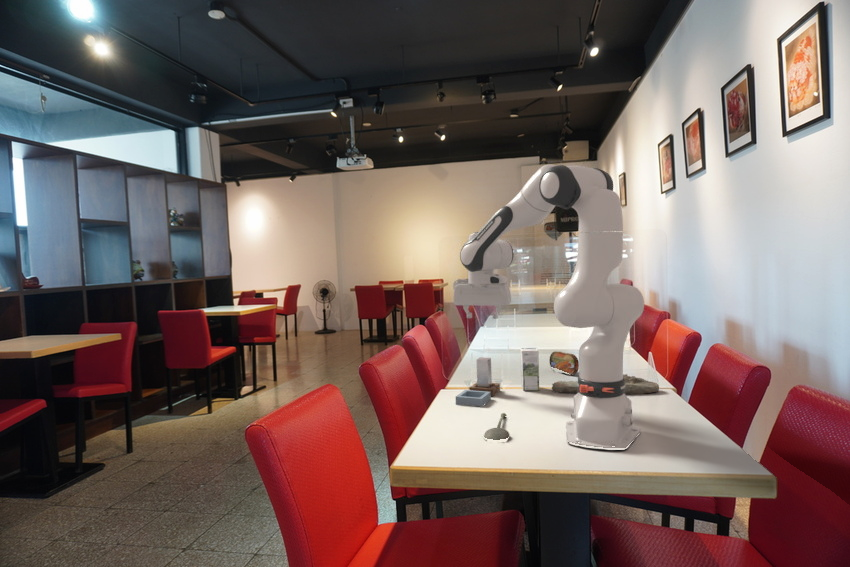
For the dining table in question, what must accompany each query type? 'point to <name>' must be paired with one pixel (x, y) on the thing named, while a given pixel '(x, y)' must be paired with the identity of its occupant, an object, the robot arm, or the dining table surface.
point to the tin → (564, 362)
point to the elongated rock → (631, 386)
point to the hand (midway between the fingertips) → (482, 318)
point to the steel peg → (484, 372)
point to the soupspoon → (497, 431)
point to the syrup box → (530, 369)
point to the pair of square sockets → (477, 395)
